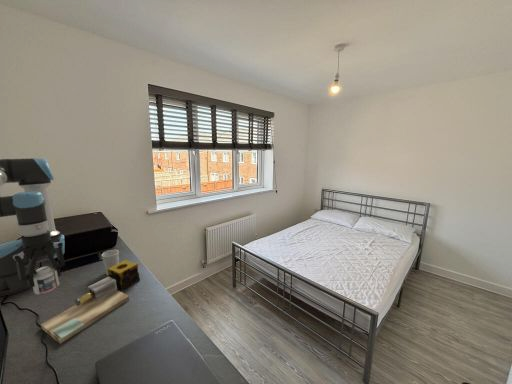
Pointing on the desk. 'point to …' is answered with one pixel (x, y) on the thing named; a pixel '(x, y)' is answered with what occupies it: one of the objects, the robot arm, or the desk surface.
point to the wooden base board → (86, 311)
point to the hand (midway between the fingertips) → (47, 288)
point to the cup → (110, 259)
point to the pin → (84, 298)
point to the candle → (124, 274)
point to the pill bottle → (45, 279)
